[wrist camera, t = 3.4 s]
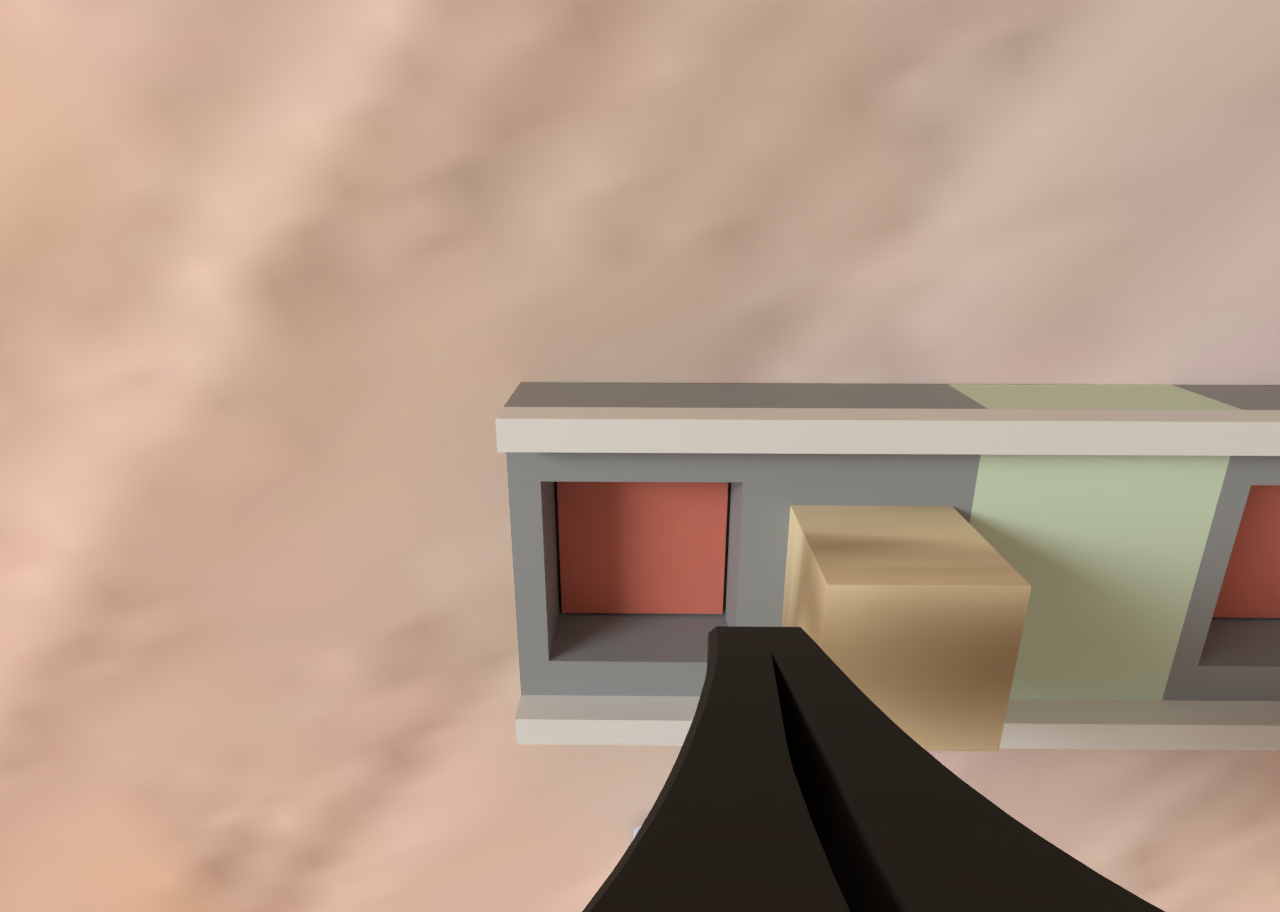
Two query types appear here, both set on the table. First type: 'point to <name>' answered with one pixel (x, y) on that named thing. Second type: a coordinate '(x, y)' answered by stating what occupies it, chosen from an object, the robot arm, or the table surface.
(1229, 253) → the table surface
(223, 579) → the table surface
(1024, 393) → the trap lane
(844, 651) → the maple block
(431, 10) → the table surface
